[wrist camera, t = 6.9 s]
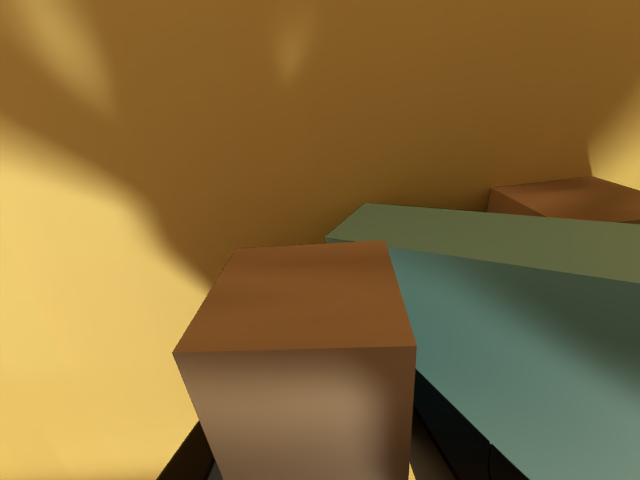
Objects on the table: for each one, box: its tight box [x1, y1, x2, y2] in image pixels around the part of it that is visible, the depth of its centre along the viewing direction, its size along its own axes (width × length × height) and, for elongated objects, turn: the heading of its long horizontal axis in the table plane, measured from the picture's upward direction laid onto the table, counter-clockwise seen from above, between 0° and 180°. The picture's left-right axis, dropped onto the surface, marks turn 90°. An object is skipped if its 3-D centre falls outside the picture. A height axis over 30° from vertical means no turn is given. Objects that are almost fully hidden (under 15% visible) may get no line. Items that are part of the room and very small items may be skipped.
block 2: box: [487, 177, 640, 224], centre depth 12 cm, size 4×8×4 cm, turn 5°
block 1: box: [172, 240, 417, 480], centre depth 9 cm, size 8×4×4 cm, turn 5°
